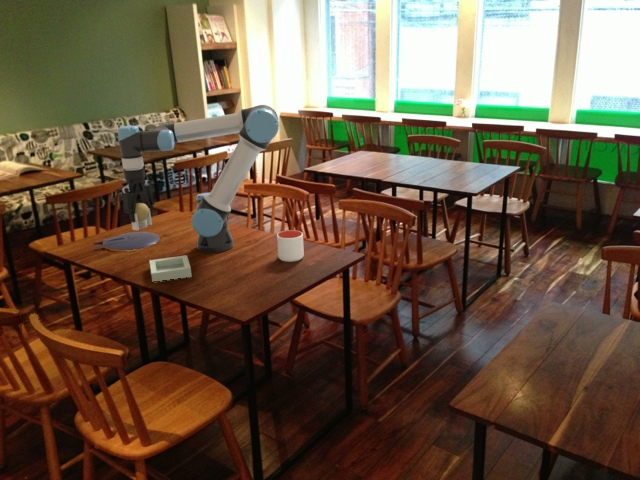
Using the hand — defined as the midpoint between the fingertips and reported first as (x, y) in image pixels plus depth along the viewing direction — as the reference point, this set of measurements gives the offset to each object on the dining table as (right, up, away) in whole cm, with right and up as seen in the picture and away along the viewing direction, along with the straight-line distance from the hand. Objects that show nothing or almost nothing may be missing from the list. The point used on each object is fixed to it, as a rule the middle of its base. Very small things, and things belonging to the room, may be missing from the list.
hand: (142, 226), depth 226 cm
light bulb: (0, -1, 0) cm, 1 cm away
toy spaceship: (-15, -7, +27) cm, 32 cm away
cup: (+57, -12, +4) cm, 59 cm away
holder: (+13, -17, -6) cm, 22 cm away
